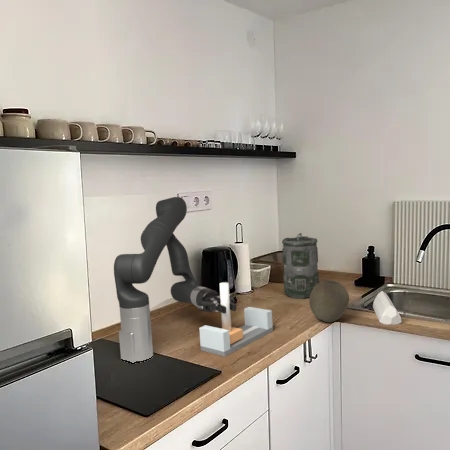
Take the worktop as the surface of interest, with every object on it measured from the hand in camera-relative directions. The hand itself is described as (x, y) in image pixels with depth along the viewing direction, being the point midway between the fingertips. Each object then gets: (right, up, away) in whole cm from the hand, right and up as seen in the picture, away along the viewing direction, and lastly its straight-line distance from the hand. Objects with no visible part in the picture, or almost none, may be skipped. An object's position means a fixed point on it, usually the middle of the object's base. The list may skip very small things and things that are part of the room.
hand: (230, 309), depth 149 cm
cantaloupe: (+37, -9, +23) cm, 45 cm away
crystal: (+59, -7, +26) cm, 65 cm away
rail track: (+3, -12, +8) cm, 15 cm away
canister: (+33, -5, +62) cm, 71 cm away
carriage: (-1, -11, +4) cm, 11 cm away
